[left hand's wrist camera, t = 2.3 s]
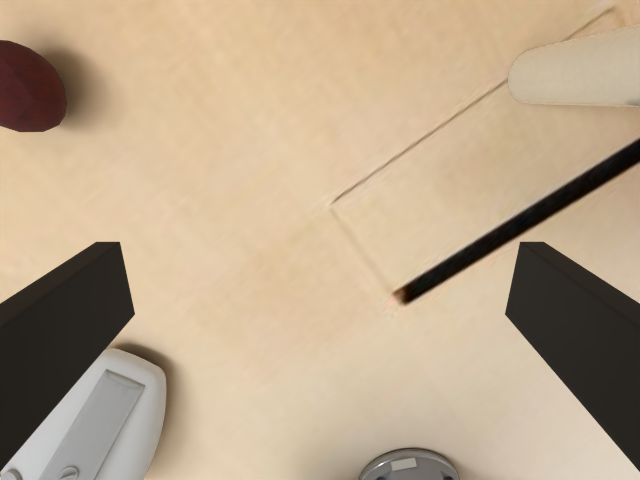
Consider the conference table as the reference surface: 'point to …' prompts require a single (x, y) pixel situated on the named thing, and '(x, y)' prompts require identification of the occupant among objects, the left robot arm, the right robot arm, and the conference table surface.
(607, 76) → the jar
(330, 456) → the conference table surface
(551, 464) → the conference table surface
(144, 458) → the projector
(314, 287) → the conference table surface
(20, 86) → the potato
